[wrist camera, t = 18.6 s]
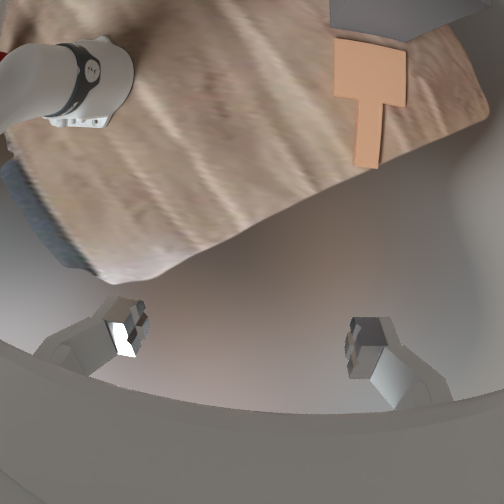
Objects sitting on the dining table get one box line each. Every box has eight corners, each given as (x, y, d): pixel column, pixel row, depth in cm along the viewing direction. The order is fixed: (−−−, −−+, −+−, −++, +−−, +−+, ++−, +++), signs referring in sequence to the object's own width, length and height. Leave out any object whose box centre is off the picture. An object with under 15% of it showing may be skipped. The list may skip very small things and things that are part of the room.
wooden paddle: (329, 161, 44) (330, 163, 43) (332, 40, 35) (334, 38, 33) (396, 170, 43) (399, 171, 42) (402, 53, 34) (405, 51, 32)
